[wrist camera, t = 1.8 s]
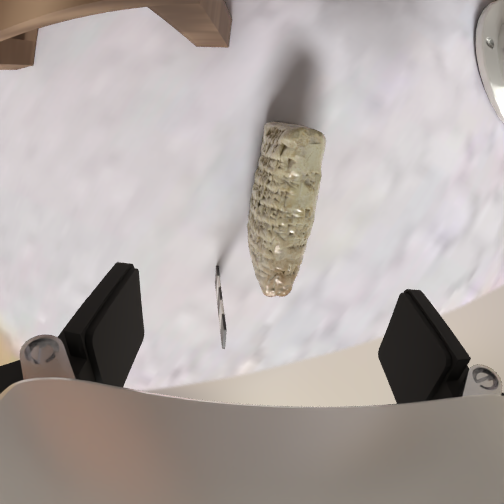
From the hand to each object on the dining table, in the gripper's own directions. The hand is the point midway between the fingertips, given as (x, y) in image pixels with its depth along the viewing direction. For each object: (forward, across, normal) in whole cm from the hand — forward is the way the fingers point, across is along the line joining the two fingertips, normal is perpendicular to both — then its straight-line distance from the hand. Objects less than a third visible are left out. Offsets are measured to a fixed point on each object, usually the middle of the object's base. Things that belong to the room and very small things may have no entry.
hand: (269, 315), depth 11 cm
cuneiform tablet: (+12, 0, 0) cm, 12 cm away
